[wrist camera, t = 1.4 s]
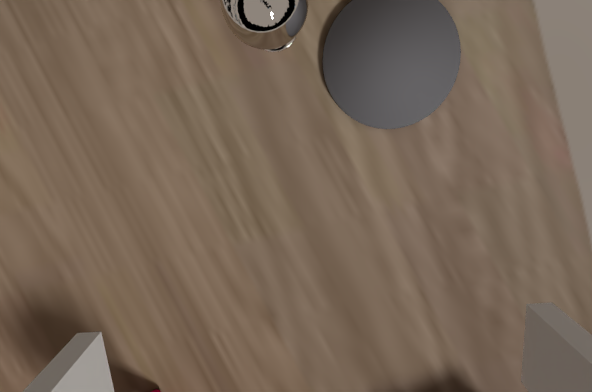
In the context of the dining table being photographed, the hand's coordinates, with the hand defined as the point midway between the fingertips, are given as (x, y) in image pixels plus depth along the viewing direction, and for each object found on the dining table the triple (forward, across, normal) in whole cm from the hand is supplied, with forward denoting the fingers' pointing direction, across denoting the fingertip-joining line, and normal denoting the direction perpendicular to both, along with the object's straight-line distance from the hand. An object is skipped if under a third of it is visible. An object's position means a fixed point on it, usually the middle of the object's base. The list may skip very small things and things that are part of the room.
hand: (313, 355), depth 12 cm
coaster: (+27, +8, +10) cm, 30 cm away
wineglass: (+27, -2, +14) cm, 30 cm away
